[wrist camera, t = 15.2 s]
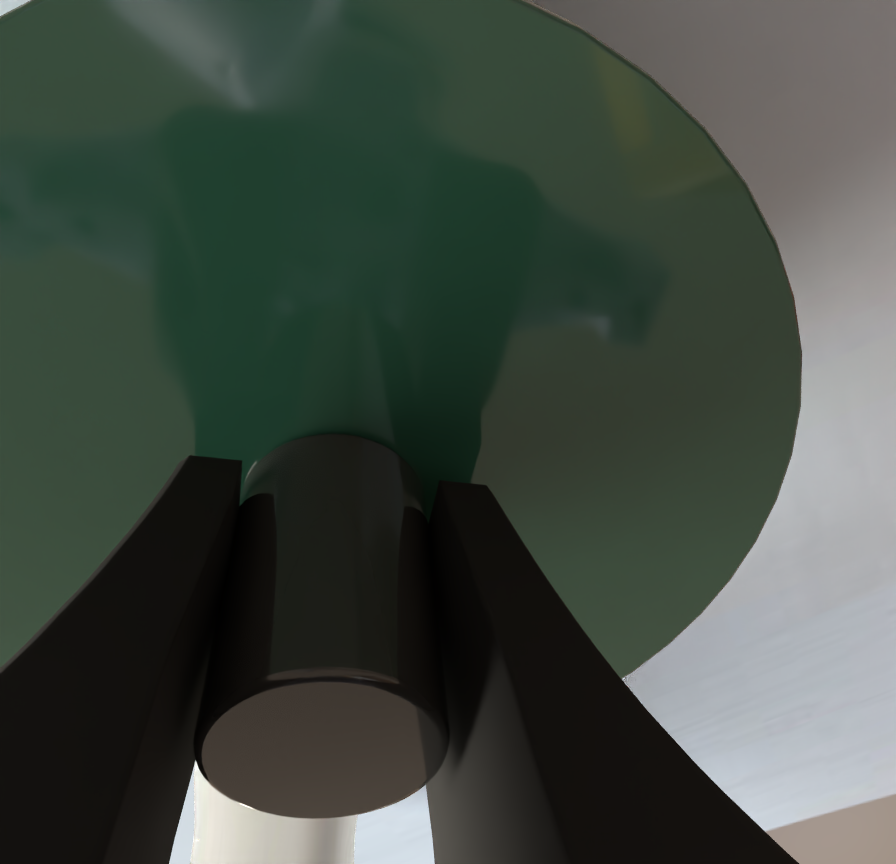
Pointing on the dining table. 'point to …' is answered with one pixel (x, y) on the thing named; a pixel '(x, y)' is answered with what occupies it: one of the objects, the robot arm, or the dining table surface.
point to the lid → (374, 344)
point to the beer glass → (264, 834)
